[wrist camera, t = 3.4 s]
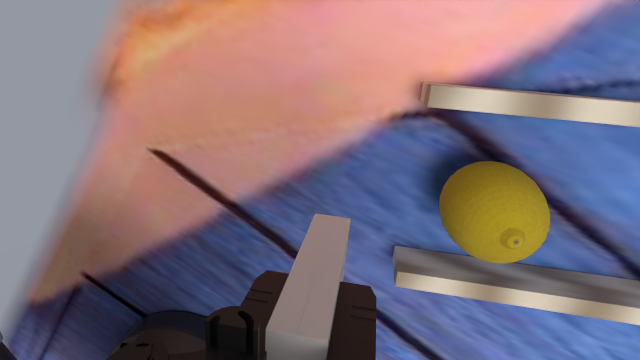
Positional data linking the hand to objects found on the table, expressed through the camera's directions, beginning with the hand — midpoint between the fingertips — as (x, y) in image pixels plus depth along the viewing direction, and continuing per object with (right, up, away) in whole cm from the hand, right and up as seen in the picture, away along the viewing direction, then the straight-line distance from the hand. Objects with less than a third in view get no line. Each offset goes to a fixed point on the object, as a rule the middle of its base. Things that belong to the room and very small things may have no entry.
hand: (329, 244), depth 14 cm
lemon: (+10, +2, +10) cm, 14 cm away
